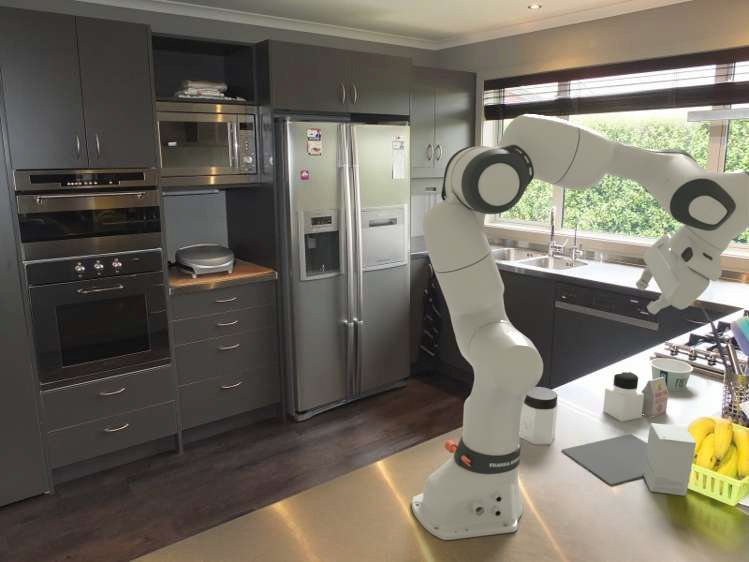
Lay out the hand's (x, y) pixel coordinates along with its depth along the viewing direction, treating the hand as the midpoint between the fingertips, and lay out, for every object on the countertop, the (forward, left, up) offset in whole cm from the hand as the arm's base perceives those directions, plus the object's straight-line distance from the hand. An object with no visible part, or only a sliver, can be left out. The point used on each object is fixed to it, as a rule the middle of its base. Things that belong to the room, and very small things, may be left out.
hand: (644, 299), depth 121 cm
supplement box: (+6, -5, -41) cm, 42 cm away
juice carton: (+33, +23, -41) cm, 58 cm away
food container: (+54, +36, -41) cm, 77 cm away
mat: (+6, +7, -41) cm, 42 cm away
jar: (-6, +23, -41) cm, 48 cm away
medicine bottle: (+24, +25, -41) cm, 54 cm away
